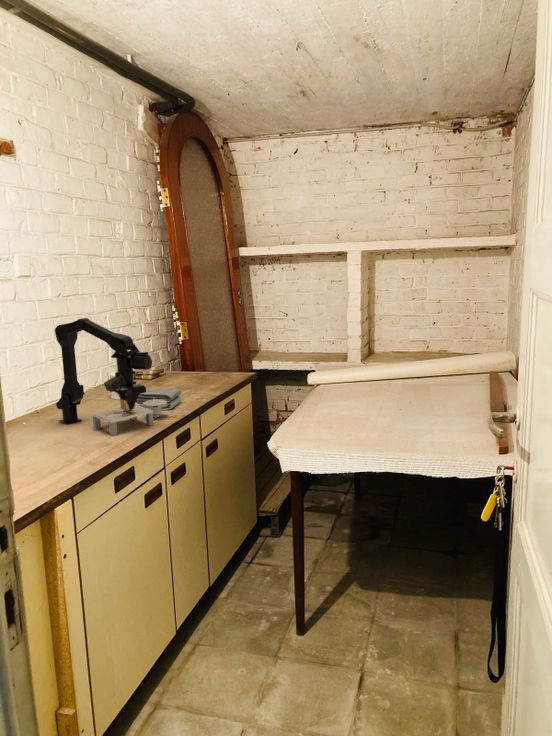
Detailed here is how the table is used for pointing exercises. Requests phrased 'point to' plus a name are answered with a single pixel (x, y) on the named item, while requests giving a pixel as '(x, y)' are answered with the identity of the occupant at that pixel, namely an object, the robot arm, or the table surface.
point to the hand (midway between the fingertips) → (128, 408)
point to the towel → (160, 397)
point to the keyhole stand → (121, 417)
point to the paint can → (114, 394)
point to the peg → (125, 404)
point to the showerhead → (155, 406)
